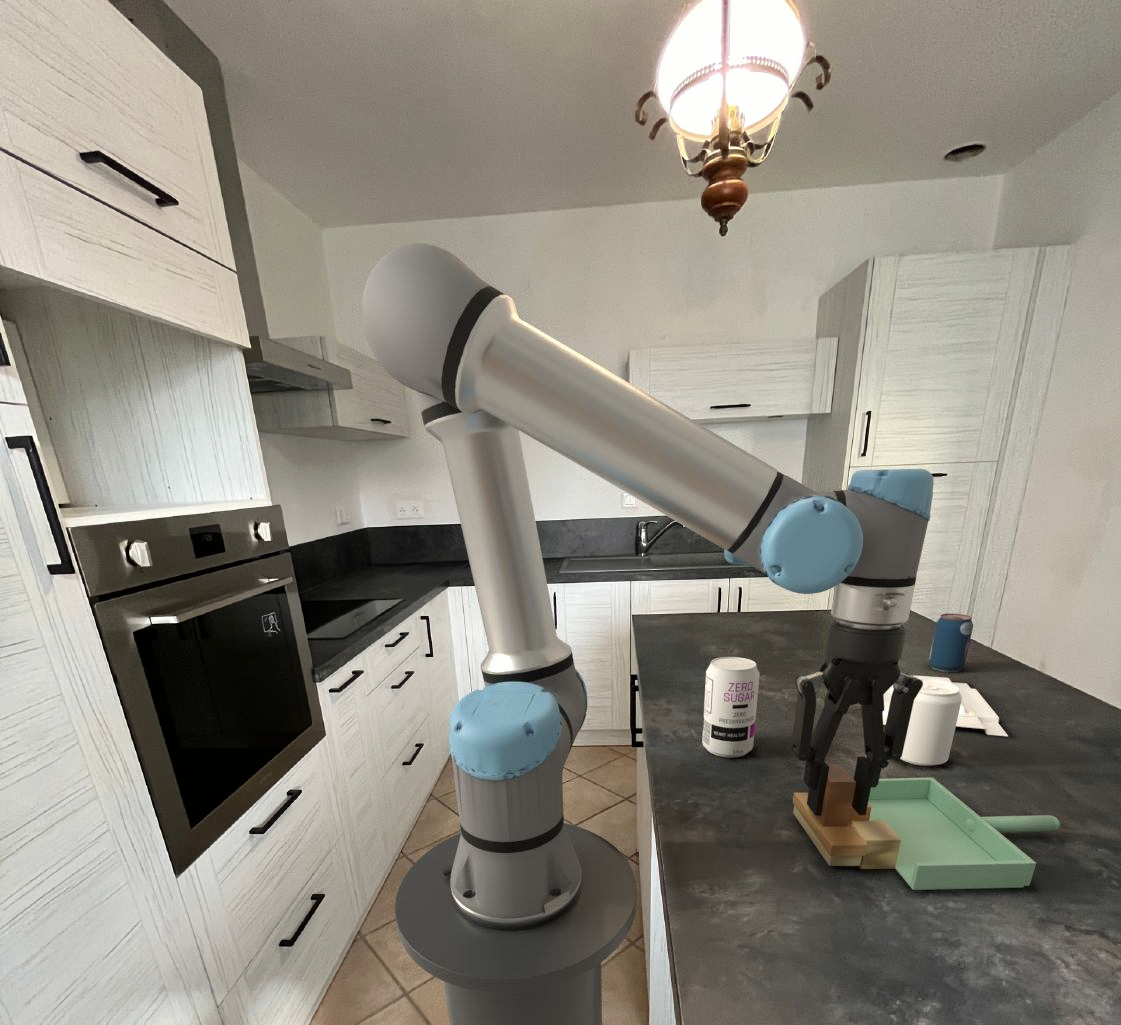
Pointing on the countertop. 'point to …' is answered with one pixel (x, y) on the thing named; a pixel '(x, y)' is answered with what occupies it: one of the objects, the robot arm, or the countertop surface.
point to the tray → (963, 709)
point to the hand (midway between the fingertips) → (835, 809)
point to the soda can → (950, 642)
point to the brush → (833, 821)
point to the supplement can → (730, 706)
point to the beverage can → (932, 723)
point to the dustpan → (952, 837)
